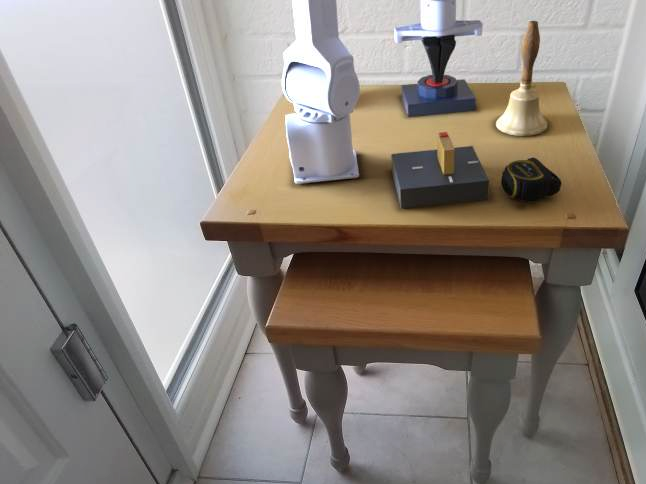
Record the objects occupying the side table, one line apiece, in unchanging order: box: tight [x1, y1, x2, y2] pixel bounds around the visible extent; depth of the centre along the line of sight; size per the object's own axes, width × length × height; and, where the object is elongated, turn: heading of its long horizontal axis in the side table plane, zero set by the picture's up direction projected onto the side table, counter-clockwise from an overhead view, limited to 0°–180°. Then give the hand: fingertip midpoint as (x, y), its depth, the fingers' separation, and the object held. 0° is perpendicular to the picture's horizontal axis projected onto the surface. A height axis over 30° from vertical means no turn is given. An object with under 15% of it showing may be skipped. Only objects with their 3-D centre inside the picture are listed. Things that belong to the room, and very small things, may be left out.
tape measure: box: [500, 157, 562, 203], centre depth 72 cm, size 7×7×4 cm
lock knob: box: [436, 131, 455, 175], centre depth 73 cm, size 5×1×4 cm, turn 5°
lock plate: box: [391, 145, 490, 209], centre depth 75 cm, size 12×10×3 cm
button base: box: [400, 74, 477, 118], centre depth 96 cm, size 12×9×4 cm
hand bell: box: [495, 20, 548, 137], centre depth 84 cm, size 8×8×16 cm
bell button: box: [426, 77, 449, 87], centre depth 95 cm, size 4×4×2 cm
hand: (437, 81), depth 95 cm, fingers closed, pressing on bell button
